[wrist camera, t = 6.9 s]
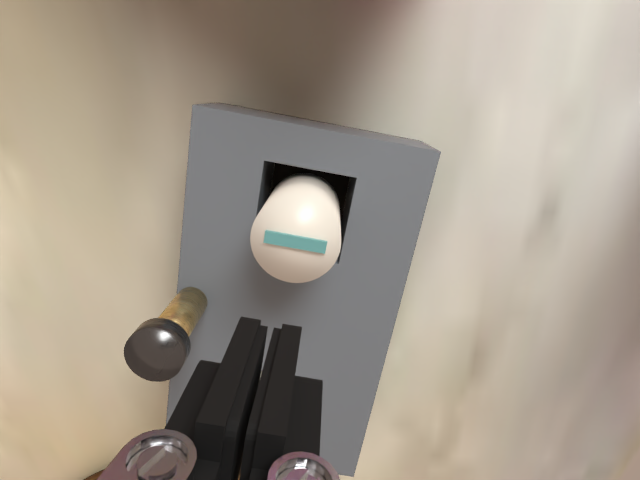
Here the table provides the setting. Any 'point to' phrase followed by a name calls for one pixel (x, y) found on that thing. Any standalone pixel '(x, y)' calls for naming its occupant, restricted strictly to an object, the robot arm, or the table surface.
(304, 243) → the knob
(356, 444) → the panel
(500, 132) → the table surface
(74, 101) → the table surface
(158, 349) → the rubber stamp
